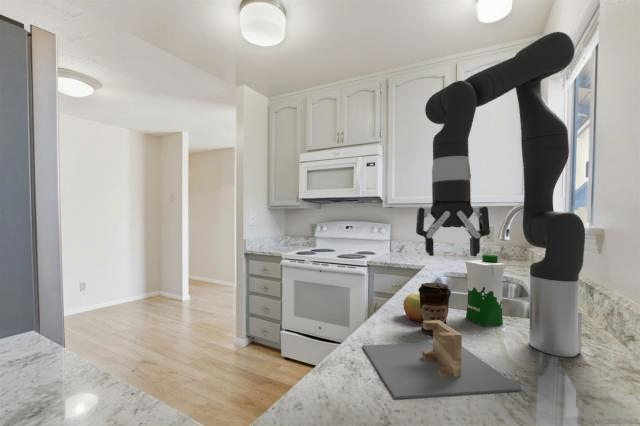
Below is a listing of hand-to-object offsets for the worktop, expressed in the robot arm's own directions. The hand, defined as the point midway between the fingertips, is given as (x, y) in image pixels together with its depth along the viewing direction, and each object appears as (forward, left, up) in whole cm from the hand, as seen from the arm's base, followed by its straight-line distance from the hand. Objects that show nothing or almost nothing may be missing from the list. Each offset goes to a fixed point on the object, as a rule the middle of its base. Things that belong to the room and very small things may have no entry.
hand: (451, 255), depth 63 cm
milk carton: (-25, -24, -23) cm, 42 cm away
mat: (+5, 0, -23) cm, 24 cm away
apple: (-6, -27, -23) cm, 36 cm away
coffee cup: (-5, -17, -23) cm, 29 cm away
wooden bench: (+3, +1, -23) cm, 23 cm away
